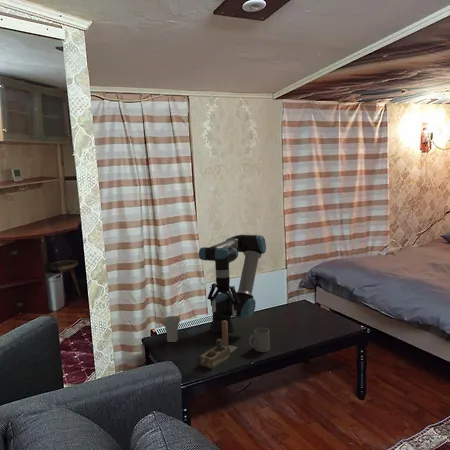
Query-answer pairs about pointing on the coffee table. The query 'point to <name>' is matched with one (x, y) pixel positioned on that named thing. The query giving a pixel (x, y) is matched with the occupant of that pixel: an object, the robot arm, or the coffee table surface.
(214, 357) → the socket block
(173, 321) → the cup
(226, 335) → the dowel
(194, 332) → the coffee table surface
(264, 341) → the mug
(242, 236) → the robot arm
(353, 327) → the coffee table surface
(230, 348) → the mat
